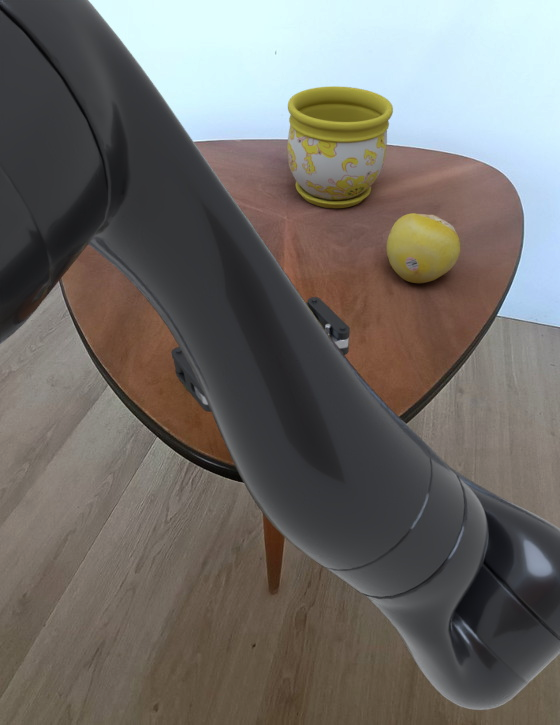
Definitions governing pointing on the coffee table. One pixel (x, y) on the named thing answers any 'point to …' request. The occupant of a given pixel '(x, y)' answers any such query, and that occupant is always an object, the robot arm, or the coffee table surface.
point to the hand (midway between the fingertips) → (225, 307)
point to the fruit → (422, 247)
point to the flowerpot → (337, 143)
